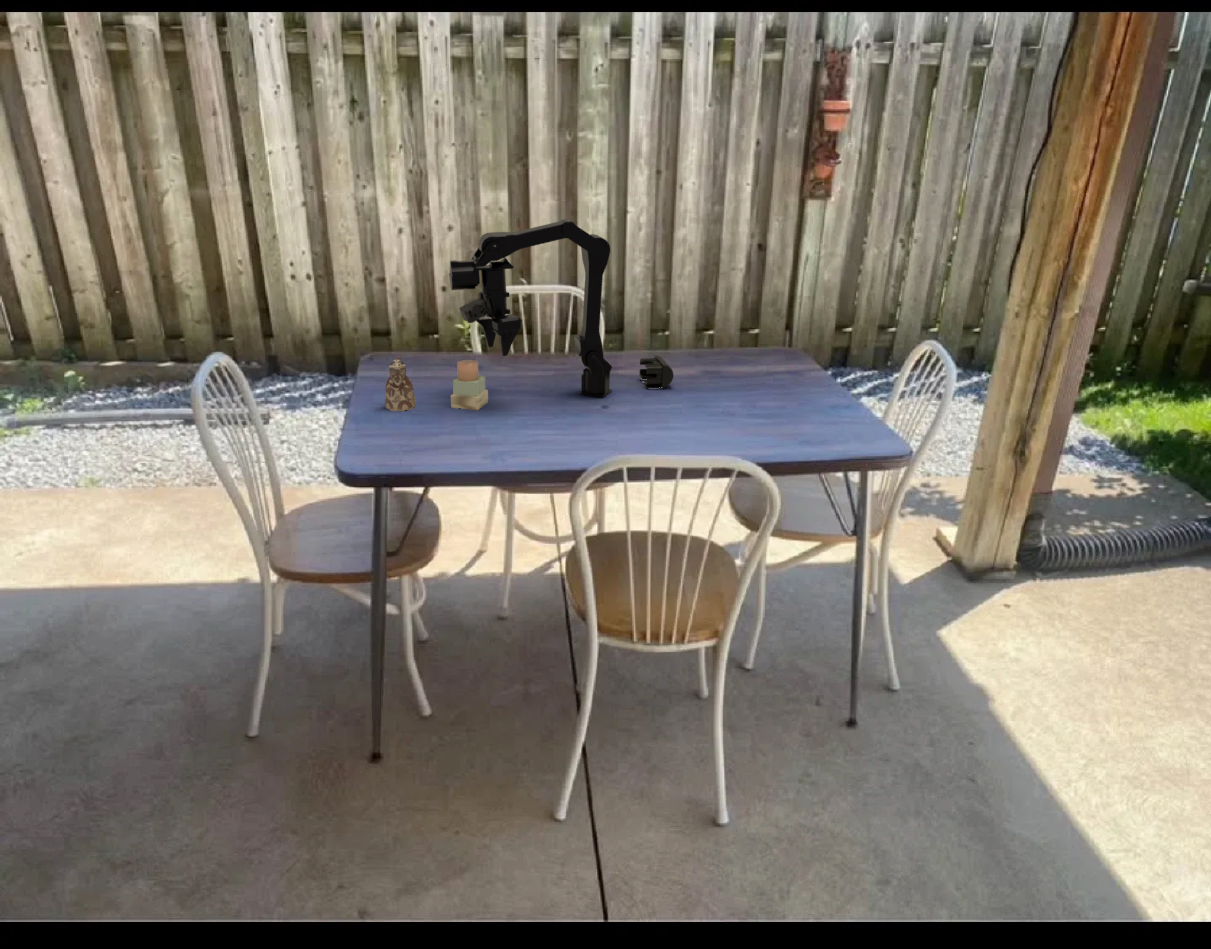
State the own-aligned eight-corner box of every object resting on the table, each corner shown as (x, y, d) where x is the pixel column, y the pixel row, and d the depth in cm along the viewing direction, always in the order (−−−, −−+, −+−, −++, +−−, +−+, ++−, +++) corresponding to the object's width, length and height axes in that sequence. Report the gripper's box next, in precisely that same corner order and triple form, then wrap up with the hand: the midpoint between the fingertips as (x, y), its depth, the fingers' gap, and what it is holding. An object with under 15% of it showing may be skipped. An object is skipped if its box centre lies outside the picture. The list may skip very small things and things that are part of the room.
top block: (485, 389, 217) (485, 376, 215) (476, 396, 211) (476, 383, 210) (462, 387, 218) (461, 373, 216) (453, 394, 212) (452, 380, 211)
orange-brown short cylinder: (482, 377, 214) (482, 361, 212) (470, 382, 210) (470, 366, 208) (465, 374, 216) (465, 358, 214) (453, 379, 212) (452, 363, 210)
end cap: (672, 389, 232) (674, 364, 229) (646, 390, 230) (648, 365, 228) (664, 378, 241) (665, 354, 238) (638, 379, 239) (639, 355, 237)
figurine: (382, 411, 209) (378, 362, 205) (389, 401, 216) (386, 354, 211) (411, 412, 209) (408, 363, 205) (418, 402, 216) (415, 355, 211)
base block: (488, 402, 218) (487, 389, 217) (478, 411, 212) (478, 398, 210) (461, 400, 219) (461, 387, 218) (451, 409, 213) (450, 395, 212)
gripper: (448, 284, 213) (453, 346, 219) (476, 298, 198) (480, 365, 204) (491, 280, 218) (494, 341, 224) (521, 293, 203) (524, 358, 209)
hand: (497, 351), depth 215 cm, fingers open, 9 cm apart
